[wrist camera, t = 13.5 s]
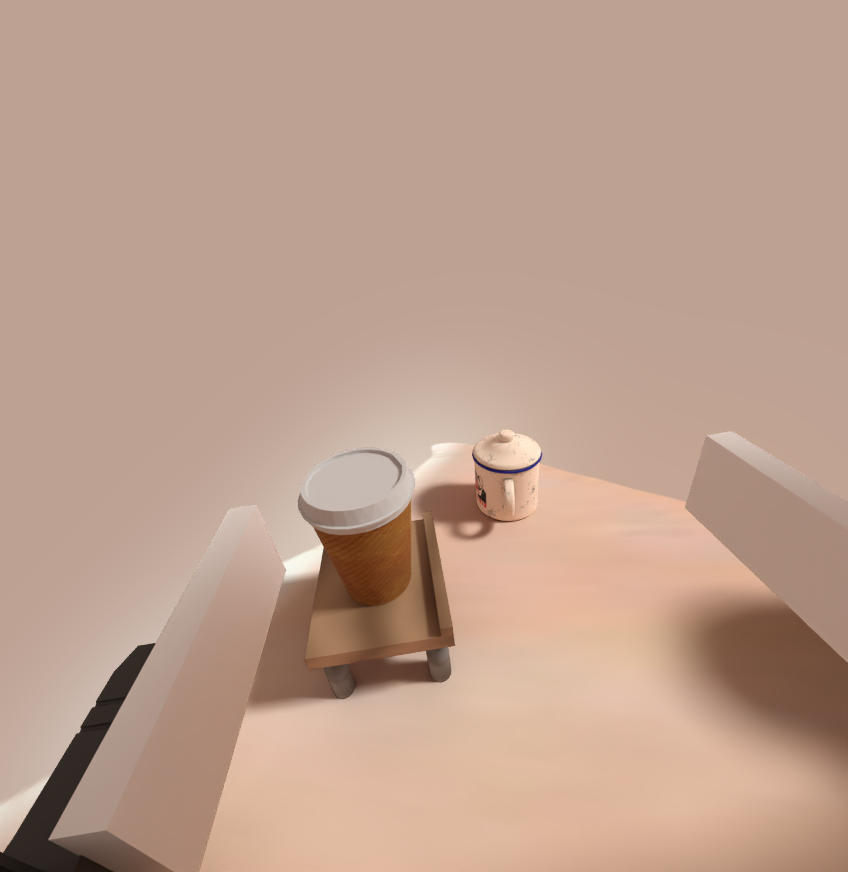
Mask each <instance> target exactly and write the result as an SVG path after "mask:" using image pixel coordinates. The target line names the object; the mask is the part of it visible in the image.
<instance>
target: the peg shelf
mask: <svg viewBox="0 0 848 872" xmlns="http://www.w3.org/2000/svg"><path fill="white" fill-rule="evenodd" d="M411 573H412V574H411V579H410V583H409V585H408V587H407V588H406V590H405V591H404V592H403V593H402V594H401V595H400V596H398V597H397V598H396V599H394V600H392V601H391V602H388V603H386V604H382V605H377V606H368V605H363V604H361V603H358V602H356V601H355V600H353V599H352V598H351V596H350V595H349V593H348V592H347V589H346V588H345V585H344V584H343V582H342V580H341V578H340V576H339V575H338V572H337V571H336V569H335V567H334V565H333V563H332V561H331V560H330V558H329V556H328V553H327V552H326V550H325V548H324V549H323V555H322V561H321V566H320V572H319V578H318V584H317V589H316V595H315V601H314V607H313V612H312V618H311V624H310V630H309V635H308V641H307V647H306V653H305V658H304V660H305V662H306V664H307V666H308V669H309V670H313V669H319V668H324V670H325V673H326V675H327V677H328V680H329V682H330V684H331V687H332V689H333V691H334V694H335V696H336V697H338V698H340V699H344V698H347V697H349V696H350V695H351V694H352V693H353V691H354V689H355V680H354V677H353V675H352V672H351V669H350V666H349V663H355V662H361V661H367V660H373V659H379V658H385V657H391V656H397V655H403V654H409V653H415V652H421V651H426V654H427V659H428V665H429V670H430V675H431V677H432V679H433V680H435V681H437V682H444V681H446V680H447V679H448V678H449V677H450V674H451V665H450V657H449V650H448V647H451V646H455V643H454V634H453V626H452V621H451V615H450V610H449V604H448V599H447V593H446V588H445V582H444V577H443V572H442V566H441V561H440V555H439V550H438V544H437V539H436V533H435V528H434V522H433V517H432V511H429V512H423V519H422V520H415V521H411Z"/></svg>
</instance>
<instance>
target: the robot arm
mask: <svg viewBox="0 0 848 872" xmlns="http://www.w3.org/2000/svg"><path fill="white" fill-rule="evenodd" d="M685 508H686V509H687V510H688V511H689V512H690V513H691V514H692V515H693V516H694V517H695V518H696V519H697V520H698V521H699V522H700V523H702V524H703V525H704V526H705V527H706V528H707V529H708V530H709V531H710V532H711V533H712V534H713V535H714V536H715V537H716V538H717V539H718V540H719V541H720V542H721V543H722V544H724V545H725V546H726V547H727V548H728V549H729V550H730V551H731V552H732V553H733V554H734V555H735V556H736V557H737V558H738V559H739V560H740V561H741V562H742V563H743V564H744V565H746V566H747V567H748V568H749V569H750V570H751V571H752V572H753V573H754V574H755V575H756V576H757V577H758V578H759V579H760V580H761V581H762V582H763V583H764V584H765V585H766V586H768V587H769V588H770V589H771V590H772V591H773V592H774V593H775V594H776V595H777V596H778V597H779V598H780V599H781V600H782V601H783V602H784V603H785V604H786V605H787V606H788V607H790V608H791V609H792V610H793V611H794V612H795V613H796V614H797V615H798V616H799V617H800V618H801V619H802V620H803V621H804V622H805V623H806V624H807V625H808V626H809V627H810V628H811V629H813V630H814V631H815V632H816V633H817V634H818V635H819V636H820V637H821V638H822V639H823V640H824V641H825V642H826V643H827V644H828V645H829V646H830V647H831V648H832V649H833V650H835V651H836V652H837V653H838V654H839V655H840V656H841V657H842V658H843V659H844V660H845V661H846V662H847V663H848V501H846V500H845V499H843V498H841V497H840V496H838V495H837V494H835V493H833V492H831V491H830V490H828V489H827V488H825V487H823V486H822V485H820V484H818V483H817V482H815V481H813V480H812V479H810V478H808V477H807V476H805V475H803V474H802V473H800V472H798V471H797V470H795V469H793V468H792V467H790V466H788V465H787V464H785V463H783V462H782V461H780V460H779V459H777V458H775V457H774V456H772V455H770V454H769V453H767V452H765V451H764V450H762V449H760V448H759V447H757V446H755V445H754V444H752V443H750V442H749V441H747V440H746V439H744V438H742V437H740V436H739V435H737V434H736V433H734V432H725V433H718V434H712V435H707V436H706V438H705V442H704V445H703V449H702V452H701V456H700V459H699V462H698V465H697V469H696V472H695V476H694V479H693V482H692V486H691V489H690V493H689V496H688V500H687V503H686V506H685ZM285 571H286V569H285V567H284V565H283V563H282V560H281V558H280V556H279V554H278V552H277V549H276V547H275V545H274V543H273V540H272V538H271V536H270V534H269V532H268V529H267V527H266V525H265V523H264V521H263V518H262V516H261V514H260V512H259V509H258V507H257V505H250V506H243V507H236V508H230V509H229V510H228V512H227V514H226V516H225V518H224V520H223V521H222V523H221V525H220V527H219V529H218V531H217V532H216V535H215V536H214V538H213V540H212V542H211V543H210V545H209V547H208V549H207V551H206V552H205V554H204V556H203V558H202V560H201V562H200V563H199V565H198V567H197V569H196V571H195V573H194V574H193V576H192V578H191V580H190V582H189V584H188V585H187V587H186V589H185V591H184V593H183V595H182V596H181V598H180V600H179V602H178V604H177V606H176V607H175V609H174V611H173V613H172V615H171V617H170V618H169V620H168V622H167V624H166V626H165V627H164V629H163V631H162V633H161V635H160V637H159V639H158V640H157V642H156V643H153V644H147V645H140V646H138V647H137V648H136V649H135V650H134V651H133V652H132V653H131V654H130V655H129V656H128V657H127V658H126V659H125V661H124V662H123V663H122V664H121V665H120V666H119V667H118V668H117V669H116V670H115V671H114V673H113V674H112V676H111V677H110V679H109V681H108V682H107V684H106V686H105V688H104V689H103V691H102V692H101V694H100V696H99V697H98V699H97V701H96V706H95V707H93V708H92V709H91V710H90V712H89V714H88V716H87V717H86V719H85V720H84V722H83V724H82V725H81V731H80V732H79V733H78V734H76V735H75V737H74V739H73V740H72V742H71V744H70V745H69V747H68V749H67V750H66V752H65V753H64V755H63V757H62V758H61V760H60V762H59V763H58V765H57V767H56V768H55V770H54V772H53V773H52V775H51V777H50V778H49V780H48V782H47V783H46V785H45V786H44V788H43V790H42V791H41V793H40V795H39V796H38V798H37V800H36V801H35V803H34V805H33V806H32V808H31V810H30V811H29V813H28V815H27V816H26V818H25V819H24V821H23V823H22V824H21V826H20V828H19V829H18V831H17V833H16V834H15V836H14V838H13V839H12V841H11V842H10V844H9V845H8V846H7V848H6V849H5V851H4V852H3V853H1V852H0V872H199V870H200V866H201V863H202V860H203V856H204V853H205V849H206V846H207V842H208V839H209V835H210V832H211V828H212V825H213V821H214V818H215V814H216V811H217V807H218V804H219V801H220V797H221V794H222V790H223V787H224V783H225V780H226V776H227V773H228V769H229V766H230V762H231V759H232V755H233V752H234V748H235V745H236V742H237V738H238V735H239V731H240V728H241V724H242V721H243V717H244V714H245V710H246V707H247V703H248V700H249V696H250V693H251V689H252V686H253V683H254V679H255V676H256V672H257V669H258V665H259V662H260V658H261V655H262V651H263V648H264V644H265V641H266V637H267V634H268V630H269V627H270V624H271V620H272V617H273V613H274V610H275V606H276V603H277V599H278V596H279V592H280V589H281V585H282V582H283V578H284V575H285Z"/></svg>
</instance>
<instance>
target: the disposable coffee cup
mask: <svg viewBox="0 0 848 872" xmlns="http://www.w3.org/2000/svg"><path fill="white" fill-rule="evenodd" d="M414 487H415V479H414V475H413V473H412V471H411V469H409V467H408V466H406V463H405V461H404V459H403V458H402V457H401V456H400V455H398V454H397V453H395V452H393V451H390V450H387V449H380V448H374V447H366V448H356V449H351V450H346V451H343V452H339V453H337V454H334V455H332V456H330V457H328V458H326V459H324V460H322V461H321V462H319V463H318V464H316V465H314V467H312V468H311V469H310V470H309V471H308V472H307V473H306V475H305V477H304V478H303V480H302V482H301V487H300V496H299V499H298V509H299V511H300V513H301V515H302V516H303V518H304V519H305V520H306V521H307V522H309V523H310V524H311V525H312V526H313V527H314V529H315V531H316V533H317V535H318V537H319V538H320V541H321V543H322V544H323V547H324V548H325V550H326V552H327V553H328V556H329V558H330V560H331V561H332V563H333V565H334V567H335V569H336V571H337V572H338V575H339V576H340V578H341V580H342V582H343V584H344V585H345V588H346V589H347V592H348V593H349V595H350V596H351V598H352V599H353V600H355V601H356V602H358V603H361V604H363V605H368V606H377V605H382V604H386V603H388V602H391V601H392V600H394V599H396V598H397V597H398V596H400V595H401V594H402V593H403V592H404V591H405V590H406V588H407V587H408V585H409V583H410V579H411V574H412V573H411V498H412V495H413V492H414Z"/></svg>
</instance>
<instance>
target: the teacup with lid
mask: <svg viewBox="0 0 848 872" xmlns="http://www.w3.org/2000/svg"><path fill="white" fill-rule="evenodd" d="M472 456H473V459H474V461H475V481H476V501H477V505H478V507H479V508H480V510H481V511H482V512H483V513H484V514H486V515H487V516H489V517H491V518H494V519H497V520H502V521H515V520H520V519H523V518H525V517H527V516H529V515H530V514H531V513H532V512H533V511H534V510H535V508H536V506H537V499H538V480H539V462H540V460H541V457H542V453H541V449H540V447H539V445H538V444H537V443H536V442H535V441H534V440H533V439H531V438H529V437H527V436H524V435H521V434H517V433H514V432H513V431H511V430H507V429H506V430H502V431H500V433H497V434H492V435H489V436H486V437H484V438H483V439H481V440H479V441H478V442H477V444H476V445H475V447H474V449H473V453H472Z"/></svg>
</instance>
